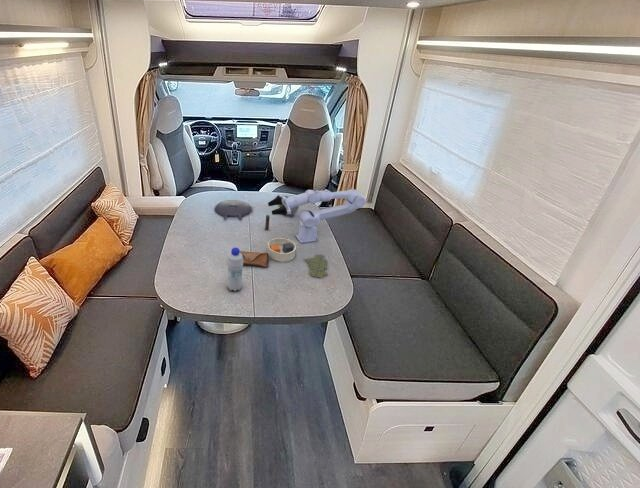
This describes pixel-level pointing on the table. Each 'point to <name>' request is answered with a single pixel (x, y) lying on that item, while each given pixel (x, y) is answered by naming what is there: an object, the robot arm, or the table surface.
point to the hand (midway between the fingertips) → (270, 208)
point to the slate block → (287, 247)
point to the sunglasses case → (255, 259)
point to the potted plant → (293, 210)
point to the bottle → (235, 269)
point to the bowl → (280, 256)
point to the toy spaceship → (233, 208)
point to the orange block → (275, 248)
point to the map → (317, 266)
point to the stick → (267, 222)
